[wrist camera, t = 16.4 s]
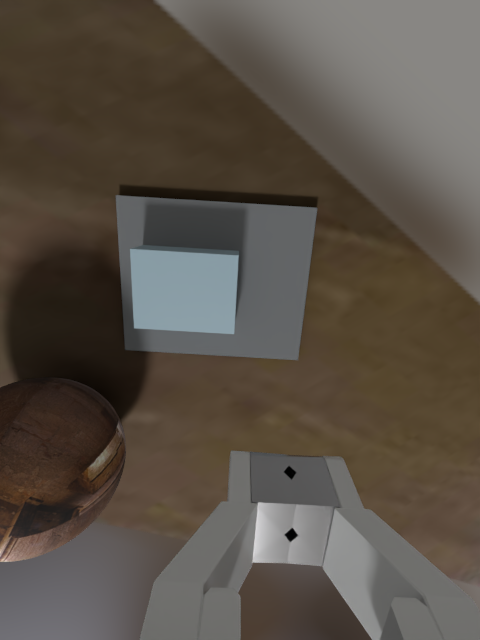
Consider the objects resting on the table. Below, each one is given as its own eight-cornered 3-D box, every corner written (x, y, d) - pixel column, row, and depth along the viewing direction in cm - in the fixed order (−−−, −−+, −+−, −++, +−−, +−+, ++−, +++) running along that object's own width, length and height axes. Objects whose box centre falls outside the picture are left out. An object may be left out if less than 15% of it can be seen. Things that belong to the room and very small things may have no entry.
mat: (315, 207, 29) (317, 207, 28) (296, 356, 34) (297, 360, 33) (119, 195, 29) (115, 195, 28) (127, 346, 34) (125, 349, 33)
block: (238, 255, 26) (130, 248, 26) (234, 334, 29) (134, 328, 29) (239, 250, 30) (142, 244, 30) (235, 321, 32) (145, 316, 32)
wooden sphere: (10, 449, 38) (-128, 588, 24) (15, 337, 34) (-153, 427, 19) (134, 475, 39) (71, 623, 25) (154, 370, 35) (92, 478, 20)
